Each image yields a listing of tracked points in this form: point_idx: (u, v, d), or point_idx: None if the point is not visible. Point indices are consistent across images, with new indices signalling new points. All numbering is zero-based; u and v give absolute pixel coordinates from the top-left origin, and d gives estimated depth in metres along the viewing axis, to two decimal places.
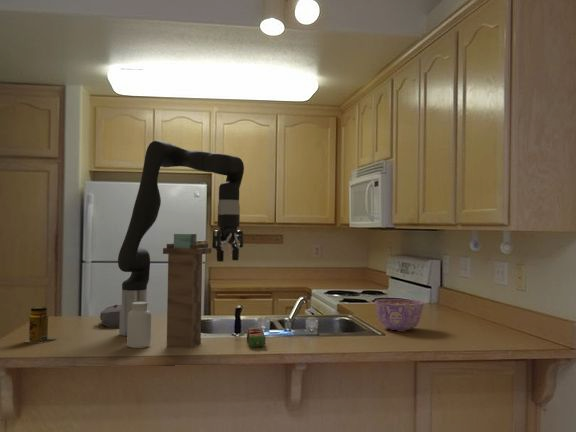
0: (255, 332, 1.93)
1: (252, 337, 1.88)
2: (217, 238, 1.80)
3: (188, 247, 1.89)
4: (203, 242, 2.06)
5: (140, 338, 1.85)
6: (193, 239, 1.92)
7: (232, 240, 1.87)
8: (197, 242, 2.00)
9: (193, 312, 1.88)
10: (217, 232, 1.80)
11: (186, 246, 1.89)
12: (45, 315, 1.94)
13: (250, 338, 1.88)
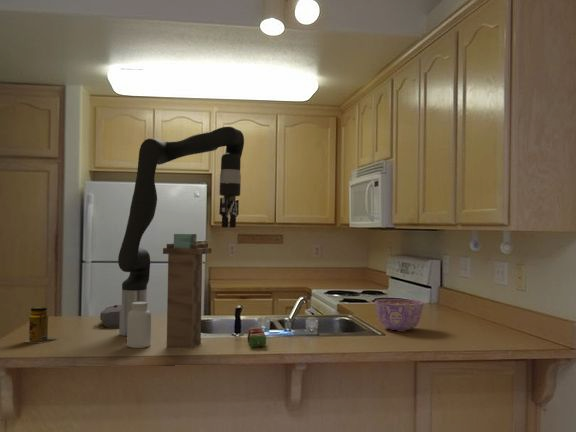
0: (256, 332, 1.93)
1: (253, 337, 1.88)
2: (225, 205, 1.90)
3: (188, 247, 1.89)
4: (203, 242, 2.06)
5: (140, 338, 1.85)
6: (193, 239, 1.92)
7: (233, 208, 1.98)
8: (197, 242, 2.00)
9: (193, 312, 1.88)
10: (225, 199, 1.90)
11: (186, 246, 1.89)
12: (45, 315, 1.94)
13: (251, 338, 1.88)
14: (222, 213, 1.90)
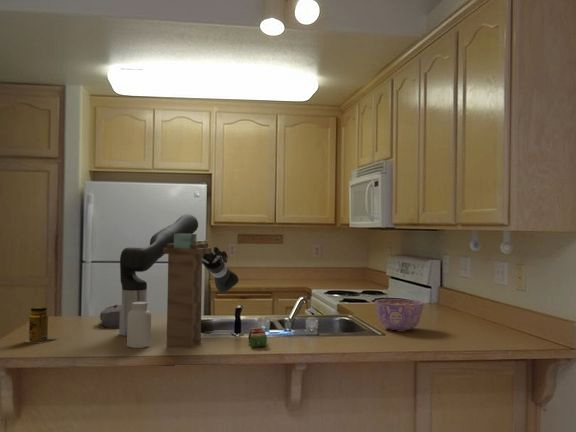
0: (257, 332, 1.94)
1: (253, 337, 1.88)
2: (226, 259, 2.25)
3: (188, 247, 1.89)
4: (203, 242, 2.06)
5: (140, 338, 1.85)
6: (193, 239, 1.92)
7: (207, 258, 2.26)
8: (197, 242, 2.00)
9: (193, 312, 1.88)
10: None
11: (186, 246, 1.89)
12: (45, 315, 1.94)
13: (251, 338, 1.88)
14: (224, 254, 2.23)
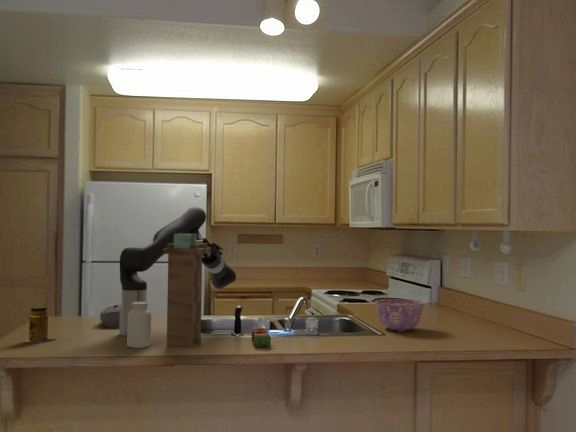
0: (260, 332, 1.94)
1: (257, 337, 1.89)
2: (218, 250, 2.10)
3: (188, 247, 1.89)
4: None
5: (140, 338, 1.85)
6: (193, 239, 1.92)
7: None
8: (197, 242, 2.00)
9: (193, 312, 1.88)
10: (221, 252, 2.11)
11: (186, 246, 1.89)
12: (45, 315, 1.94)
13: (255, 338, 1.89)
14: (214, 246, 2.09)
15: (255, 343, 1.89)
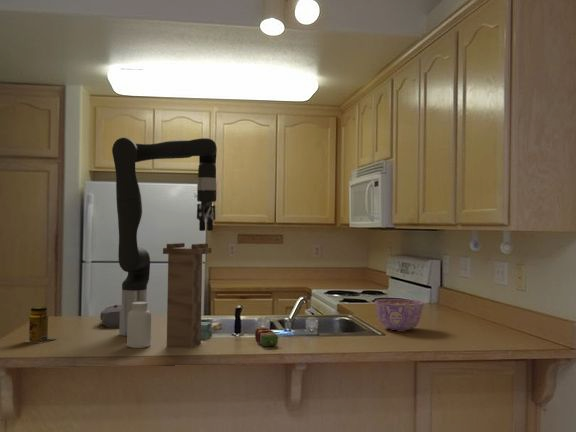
0: (266, 331, 1.95)
1: (265, 336, 1.90)
2: (202, 210, 2.08)
3: (204, 337, 2.03)
4: (217, 326, 2.20)
5: (140, 338, 1.85)
6: (208, 328, 2.06)
7: (209, 213, 2.15)
8: (212, 328, 2.14)
9: (193, 312, 1.88)
10: (201, 205, 2.08)
11: (202, 336, 2.03)
12: (45, 315, 1.94)
13: (263, 337, 1.90)
14: (199, 217, 2.08)
15: (263, 342, 1.90)
